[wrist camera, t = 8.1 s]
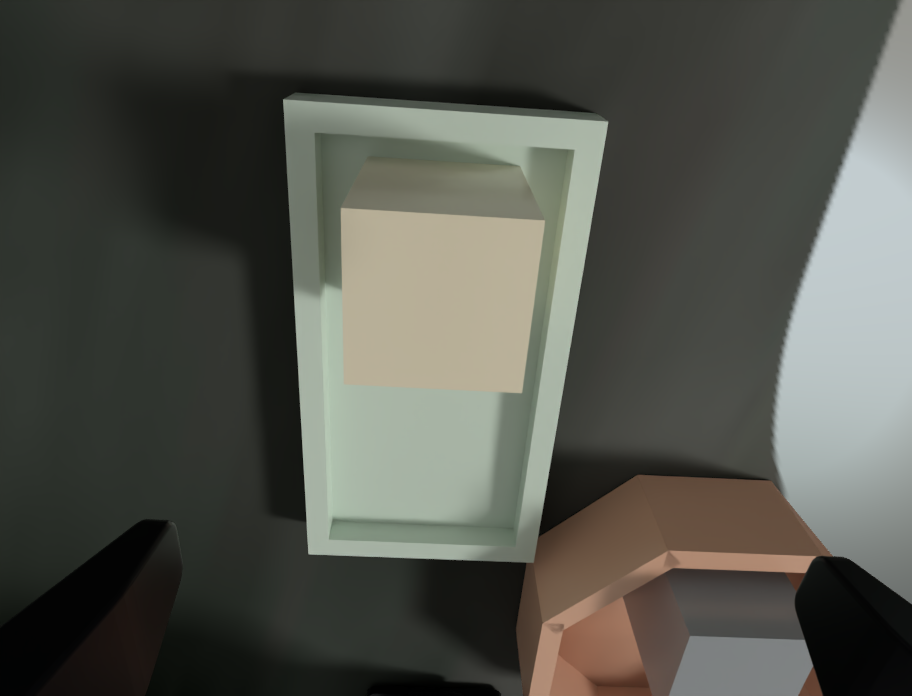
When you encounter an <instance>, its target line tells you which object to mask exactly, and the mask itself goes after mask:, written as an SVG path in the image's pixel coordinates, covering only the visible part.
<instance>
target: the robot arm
mask: <svg viewBox="0 0 912 696" xmlns="http://www.w3.org/2000/svg"><path fill="white" fill-rule="evenodd" d="M182 569H183V564H182V557H181V551H180V545H179V539H178V533H177V528H176V525H175V524H174V523H173V522H172V521H169V520H152V519H145V520H142V521H140V522H138V523H136V524H135V525H134V526H132V527H131V528H130V529H128V530H127V531H126V532H125V533H123V534H122V535H121V536H119V537H118V538H117V539H115V540H114V541H113V542H111V543H110V544H109V545H107V546H106V547H105V548H103V549H102V550H101V551H99V552H98V553H97V554H96V555H94V556H93V557H92V558H90V559H89V560H88V561H86V562H85V563H84V564H82V565H81V566H80V567H78V568H77V569H76V570H74V571H73V572H72V573H70V574H69V575H68V576H66V577H65V578H64V579H63V580H61V581H60V582H59V583H57V584H56V585H55V586H53V587H52V588H51V589H49V590H48V591H47V592H45V593H44V594H43V595H41V596H40V597H39V598H37V599H36V600H35V601H34V602H32V603H31V604H30V605H28V606H27V607H26V608H24V609H23V610H22V611H20V612H19V613H18V614H16V615H15V616H14V617H12V618H11V619H10V620H8V621H7V622H6V623H5V624H3V625H2V626H1V627H0V696H145V694H146V692H147V689H148V686H149V683H150V680H151V677H152V673H153V670H154V667H155V664H156V660H157V657H158V654H159V650H160V647H161V644H162V641H163V637H164V634H165V631H166V627H167V624H168V621H169V617H170V614H171V611H172V608H173V604H174V601H175V598H176V594H177V591H178V588H179V584H180V581H181V576H182ZM794 604H795V611H796V615H797V618H798V621H799V624H800V627H801V630H802V633H803V636H804V639H805V643H806V646H807V649H808V652H809V655H810V658H811V661H812V664H813V667H814V670H815V674H816V677H817V680H818V683H819V686H820V689H821V692H822V695H823V696H912V604H910V603H909V602H908V601H906V600H905V599H904V598H902V597H901V596H900V595H898V594H897V593H895V592H894V591H892V590H891V589H890V588H889V587H887V586H886V585H884V584H883V583H882V582H880V581H879V580H878V579H876V578H875V577H873V576H872V575H871V574H869V573H868V572H867V571H865V570H864V569H862V568H861V567H860V566H858V565H857V564H855V563H854V562H853V561H851V560H850V559H847V558H844V557H835V556H834V557H833V556H817V557H816V558H814V559H813V560H812V562H811V563H810V565H809V567H808V569H807V571H806V573H805V575H804V577H803V579H802V581H801V583H800V585H799V587H798V589H797V591H796V594H795V602H794ZM367 696H501V693H500V692H499V691H497V690H494V689H468V688H434V687H400V686H373V687H371V688H370V689H368V692H367Z"/></svg>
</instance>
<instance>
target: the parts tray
mask: <svg viewBox="0 0 912 696" xmlns="http://www.w3.org/2000/svg"><path fill="white" fill-rule="evenodd" d="M283 106H284V124H285V142H286V160H287V178H288V196H289V213H290V231H291V249H292V267H293V285H294V303H295V321H296V339H297V357H298V375H299V393H300V411H301V428H302V446H303V464H304V482H305V500H306V518H307V536H308V554H316V555H342V556H369V557H395V558H421V559H447V560H474V561H500V562H526V563H534V558H535V552H536V546H537V540H538V534H539V529H540V523H541V517H542V511H543V505H544V499H545V493H546V487H547V481H548V475H549V469H550V463H551V458H552V452H553V446H554V440H555V434H556V428H557V422H558V416H559V410H560V404H561V398H562V392H563V387H564V381H565V375H566V369H567V363H568V357H569V351H570V345H571V339H572V333H573V327H574V322H575V316H576V310H577V304H578V298H579V292H580V286H581V280H582V274H583V268H584V262H585V256H586V251H587V245H588V239H589V233H590V227H591V221H592V215H593V209H594V203H595V197H596V191H597V185H598V180H599V174H600V168H601V162H602V156H603V150H604V144H605V138H606V132H607V126H608V121H607V120H605V119H604V118H602V117H601V116H600V115H598V114H597V113H587V112H572V111H558V110H543V109H529V108H514V107H500V106H485V105H471V104H456V103H441V102H427V101H412V100H398V99H383V98H369V97H354V96H340V95H325V94H311V93H296V92H295V93H294V94H292V95H290V96H288V97H287V98H285V99H283ZM368 156H371V157H387V158H402V159H418V160H433V161H448V162H464V163H479V164H495V165H510V166H520V167H521V169H522V172H523V174H524V176H525V178H526V180H527V182H528V184H529V187H530V189H531V191H532V193H533V195H534V197H535V200H536V202H537V204H538V206H539V208H540V210H541V212H542V215H543V217H544V219H545V226H544V233H543V241H542V248H541V256H540V263H539V271H538V278H537V286H536V293H535V300H534V308H533V315H532V323H531V330H530V338H529V345H528V352H527V360H526V367H525V375H524V382H523V390H522V393H507V392H486V391H466V390H446V389H426V388H405V387H385V386H365V385H345V384H344V369H343V313H342V257H341V206H342V204H343V202H344V201H345V199H346V197H347V195H348V193H349V191H350V189H351V187H352V185H353V183H354V182H355V180H356V178H357V176H358V174H359V172H360V170H361V168H362V166H363V164H364V163H365V161H366V159H367V157H368Z"/></svg>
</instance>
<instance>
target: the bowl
mask: <svg viewBox="0 0 912 696" xmlns="http://www.w3.org/2000/svg"><path fill="white" fill-rule="evenodd" d="M817 556H832V555H831V554H830V552H829V551H828V550H827V549H826V547H825V546H824V545H823V544H822V543H821V541H820V540H819V539H818V538H817V536H816V535H815V534H814V533H813V532H812V531H811V529H810V528H809V527H808V526H807V524H806V523H805V522H804V521H803V519H802V518H801V517H800V516H799V515H798V514H797V512H796V511H795V510H794V509H793V507H792V506H791V505H790V504H789V502H788V501H787V500H786V499H785V498H784V496H783V495H782V494H781V493H780V492H779V490H778V489H777V488H776V487H775V485H774V484H773V483H772V482H771V481H766V480H743V479H721V478H698V477H676V476H653V475H636V476H635V477H633V478H632V479H630V480H629V481H627V482H625V483H624V484H622V485H621V486H619V487H617V488H616V489H614V490H613V491H611V492H610V493H608V494H606V495H605V496H603V497H602V498H600V499H598V500H597V501H595V502H594V503H592V504H590V505H589V506H587V507H586V508H584V509H583V510H581V511H579V512H578V513H576V514H575V515H573V516H571V517H570V518H568V519H567V520H565V521H564V522H562V523H560V524H559V525H557V526H556V527H554V528H552V529H551V530H549V531H548V532H546V533H544V534H543V535H541V536H540V537H538V540H537V546H536V552H535V558H534V563H527V564H526V570H525V576H524V583H523V589H522V595H521V601H520V607H519V613H518V620H517V626H516V635H517V644H518V653H519V662H520V671H521V680H522V689H523V696H652V693H651V690H650V687H649V683H648V680H647V677H646V673H645V670H644V667H643V663H642V660H641V657H640V653H639V650H638V646H637V643H636V640H635V636H634V633H633V630H632V626H631V623H630V620H629V616H628V613H627V610H626V606H625V603H624V600H623V596H624V595H626V594H628V593H630V592H631V591H633V590H635V589H637V588H638V587H640V586H642V585H644V584H646V583H647V582H649V581H651V580H653V579H654V578H656V577H658V576H660V575H661V574H663V573H665V572H667V571H668V570H670V569H672V568H687V569H713V570H740V571H766V572H785V574H786V575H787V577H788V579H789V580H790V582H791V584H792V585H793V587H794V589H795V590H796V591H797V589H798V587H799V585H800V583H801V581H802V579H803V577H804V575H805V573H806V571H807V569H808V567H809V565H810V563H811V562H812V560H813V559H814V558H816V557H817ZM798 696H823V695H822V692H821V689H820V686H819V683H818V680H817V677H816V674H815V670H814V667H812V669H811V671H810V673H809V675H808V677H807V679H806V681H805V683H804V685H803V687H802V689H801V691H800V693H799V695H798Z"/></svg>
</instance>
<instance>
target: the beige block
mask: <svg viewBox="0 0 912 696" xmlns="http://www.w3.org/2000/svg"><path fill="white" fill-rule="evenodd" d="M544 226H545V219H544V217H543V215H542V212H541V210H540V208H539V206H538V204H537V202H536V200H535V197H534V195H533V193H532V191H531V189H530V187H529V184H528V182H527V180H526V178H525V176H524V174H523V172H522V169H521V167H520V166H510V165H495V164H479V163H464V162H448V161H433V160H418V159H402V158H387V157H371V156H368V157H367V159H366V161H365V163H364V164H363V166H362V168H361V170H360V172H359V174H358V176H357V178H356V180H355V182H354V183H353V185H352V187H351V189H350V191H349V193H348V195H347V197H346V199H345V201H344V202H343V204H342V206H341V257H342V313H343V369H344V384H345V385H365V386H385V387H405V388H426V389H446V390H466V391H486V392H507V393H522V390H523V382H524V375H525V367H526V360H527V352H528V345H529V338H530V330H531V323H532V315H533V308H534V300H535V293H536V286H537V278H538V271H539V263H540V256H541V248H542V241H543V233H544Z"/></svg>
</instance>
